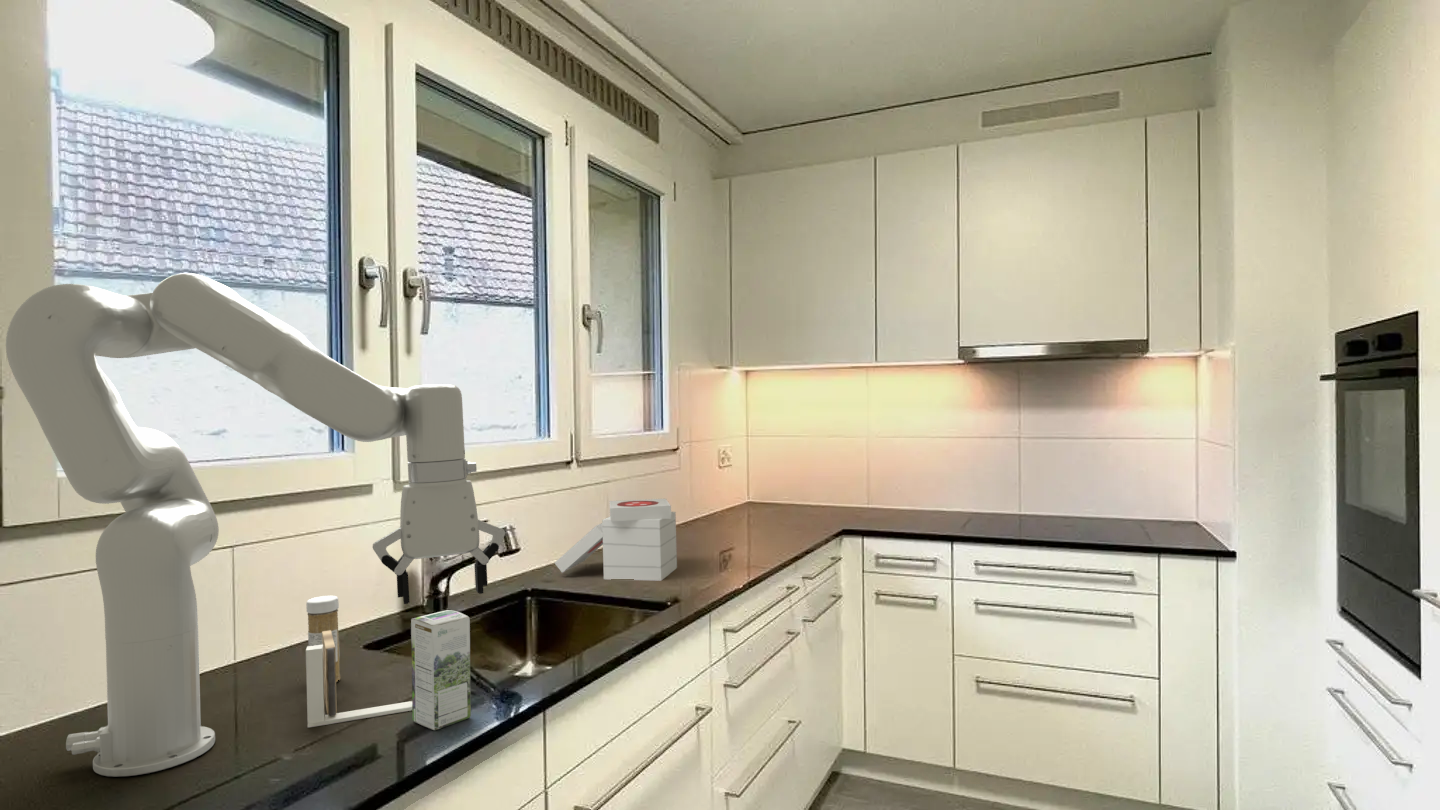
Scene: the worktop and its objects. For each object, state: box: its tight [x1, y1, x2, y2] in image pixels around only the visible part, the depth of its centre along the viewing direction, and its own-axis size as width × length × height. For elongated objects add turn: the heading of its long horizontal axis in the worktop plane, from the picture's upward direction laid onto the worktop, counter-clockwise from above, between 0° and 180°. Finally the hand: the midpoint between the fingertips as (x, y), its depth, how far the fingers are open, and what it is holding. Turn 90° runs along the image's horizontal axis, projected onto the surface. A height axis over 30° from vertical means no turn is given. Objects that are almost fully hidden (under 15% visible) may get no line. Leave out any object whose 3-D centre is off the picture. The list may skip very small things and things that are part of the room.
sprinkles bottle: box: [306, 595, 341, 683], centre depth 125 cm, size 5×5×13 cm
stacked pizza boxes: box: [554, 498, 678, 582], centre depth 202 cm, size 19×30×18 cm, turn 78°
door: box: [322, 630, 338, 716], centre depth 114 cm, size 11×1×9 cm, turn 30°
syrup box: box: [410, 609, 472, 731], centre depth 109 cm, size 6×6×14 cm
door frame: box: [305, 644, 412, 728], centre depth 111 cm, size 16×2×10 cm, turn 114°
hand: (443, 596), depth 109 cm, fingers open, 9 cm apart
